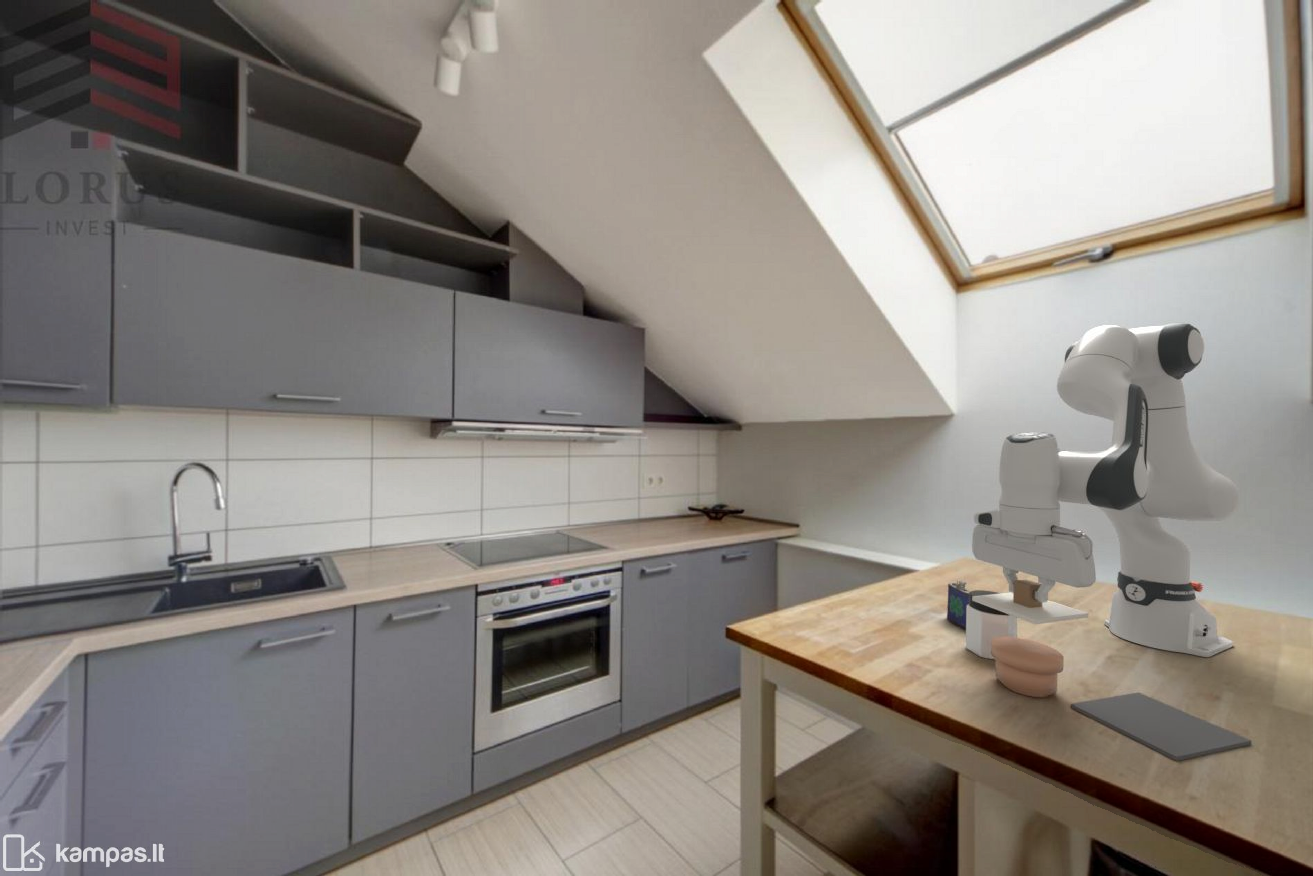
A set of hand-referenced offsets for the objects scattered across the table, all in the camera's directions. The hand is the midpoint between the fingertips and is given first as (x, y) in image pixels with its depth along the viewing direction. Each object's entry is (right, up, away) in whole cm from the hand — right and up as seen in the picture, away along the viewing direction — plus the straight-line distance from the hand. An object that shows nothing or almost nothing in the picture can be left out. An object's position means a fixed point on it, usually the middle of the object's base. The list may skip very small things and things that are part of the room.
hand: (1027, 597), depth 89 cm
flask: (+6, -17, +30) cm, 35 cm away
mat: (+12, -17, -11) cm, 23 cm away
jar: (+3, -17, +14) cm, 22 cm away
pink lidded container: (0, -17, 0) cm, 17 cm away
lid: (0, -2, 0) cm, 2 cm away
